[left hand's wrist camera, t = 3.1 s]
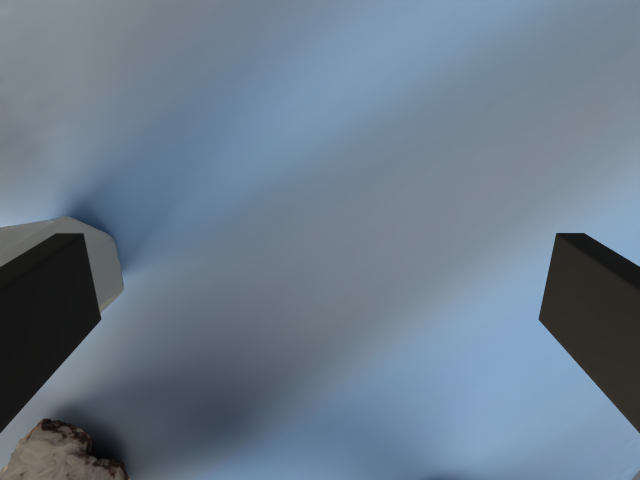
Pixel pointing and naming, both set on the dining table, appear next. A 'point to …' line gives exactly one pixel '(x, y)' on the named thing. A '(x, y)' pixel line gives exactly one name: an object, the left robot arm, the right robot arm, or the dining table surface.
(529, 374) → the dining table surface
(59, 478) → the rock
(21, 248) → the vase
